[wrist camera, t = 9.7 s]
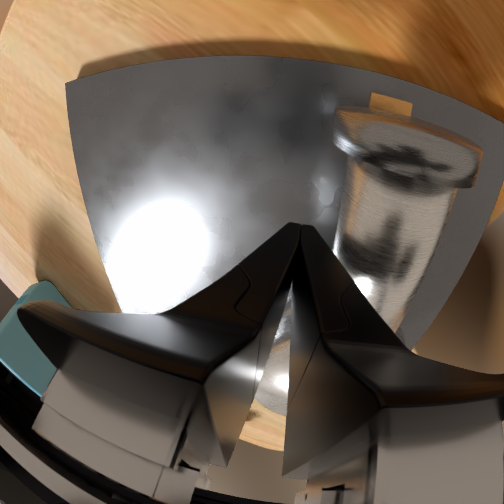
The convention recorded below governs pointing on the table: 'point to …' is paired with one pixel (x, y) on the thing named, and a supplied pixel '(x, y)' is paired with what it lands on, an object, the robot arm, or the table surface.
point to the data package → (28, 341)
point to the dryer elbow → (385, 216)
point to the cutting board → (246, 169)
